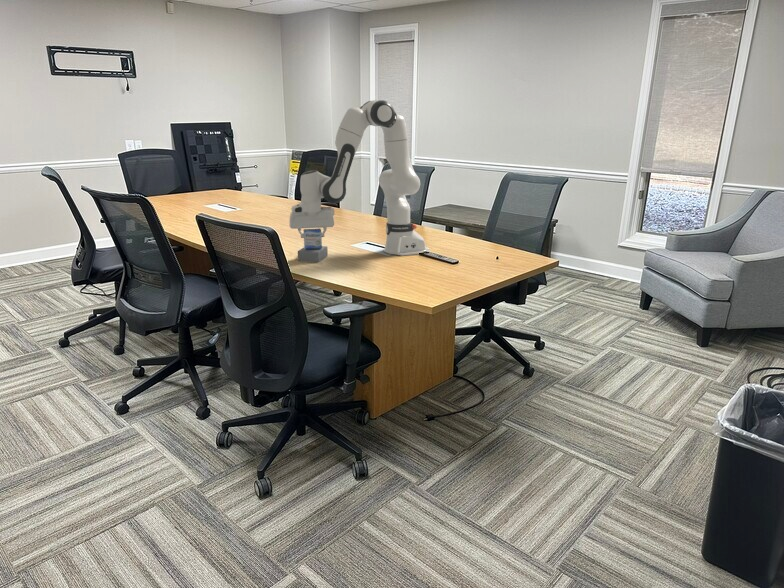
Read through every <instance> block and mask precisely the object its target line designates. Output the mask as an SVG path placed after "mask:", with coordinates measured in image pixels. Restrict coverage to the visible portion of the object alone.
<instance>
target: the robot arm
mask: <svg viewBox="0 0 784 588" xmlns="http://www.w3.org/2000/svg"><path fill="white" fill-rule="evenodd" d="M339 124H340V125H339V127H338V130H337V132H336V137H335V141H334V144H335V147H336V151H337V160H336V163H335V166H334V168H333V169H334V170H333V173H332V175H331V176H328V175H325V174H323V173H321V172H319V171H318V170H317V169H311V170H307V171H304V172H303V173H302V174H301V175H300V180H299V181H300V182H299V188H300V189H299V190H300V194H301V199H300V203H298V204H295V205H292V206H291V213H290V215H289V227H290V229H291V230H295V229H297V231H298V233H299V234H300V238H301V239H304V233H302V229H321V228H322V229H323V231H322V232H321V236H322V238H325V233H326V232H327V230H328V229H327V228H333V227H334V226H335V218H334V216H335V209H334V208H333V207H332V206H322V202H321V201H322V199H324V200H325V201H327V202H328V203H330V204H339V203H340V202H342V201H344V199H345V196H346V195H347V179H348V176H349V173H350V169H351V167H352V164H353V160H354V157H355V156H356V153H357V150H358V148H359V146H360V144H361V142H362V138H363V136H364V133H365V131H366V129H367V128H368V127H369V126H373V127H380V128H381V129H382V132H383V142H384V143H383V144H384V145H383V146H384V155H385V156H384V157H385V159H386V161H387V163H389V166H390V169H386V170H383V171H382V172H381V173H380V175H379V177H378V185H379V186H380V187H381V190H382V192H383V195H384V199H385V203H386V213H387V215H386V225H385V234H386V238H385V239H386V240H385V245H384V249H383V252H384V253H386V254H390V255H398V256H401V257H402V256H404V257H405V256H413V255H420V254H419V253H421V252H423V251H427V252H429V253H430V252H431V250H430V247H428V246H426V241H425V239H424V237H423V236H422V235H421V234H419V233H418V232H417V231H415V230H416V229H417V224H415V223H412V222H411V206H410V204H409V202H408V200H407V197H406V196H411V195H412V196H413V195H416V194H417V193H418V192H419V190H420V187H421V180H420V177H419V176H418V175H417V173H416V172H415V170H414V167H413V164H412V160H411V156H410V148H409V147H410V146H409V134H408V127H407V124H406V118H405V117H404V116H403V115H400V114H398V113H396V111H395V109H394V107H393V106H392V104H390V102H389V101H386V100H380V99H374V100H369V101H366V102H365V103H363V105H361V106H360V107H358V106H357V107H355V106H354V107H349V108H348V109H347V110H346V112H345V113H344V116H343V117H342V119H341V122H340V123H339Z"/></svg>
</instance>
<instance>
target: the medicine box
mask: <svg viewBox="0 0 784 588" xmlns="http://www.w3.org/2000/svg"><path fill="white" fill-rule="evenodd" d="M302 229H303V234H304V238H303V246H304V247H305V249H317V248H322V246H323V242H322V241H323V240H322V238H323V237H322V236H321V233H322V229H321V228H302ZM304 247H303V248H304Z"/></svg>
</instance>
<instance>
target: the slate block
mask: <svg viewBox="0 0 784 588" xmlns="http://www.w3.org/2000/svg"><path fill="white" fill-rule="evenodd" d="M327 257H329V254H328V245H327V246H325V245H322V248H317V249H305V247H302V248H301V249H299V250H297V262H303V261H307V262H306V263H318V262H319V263H321V262H322V261H323V260H324V259H326V258H327ZM321 260H322V261H321Z"/></svg>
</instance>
